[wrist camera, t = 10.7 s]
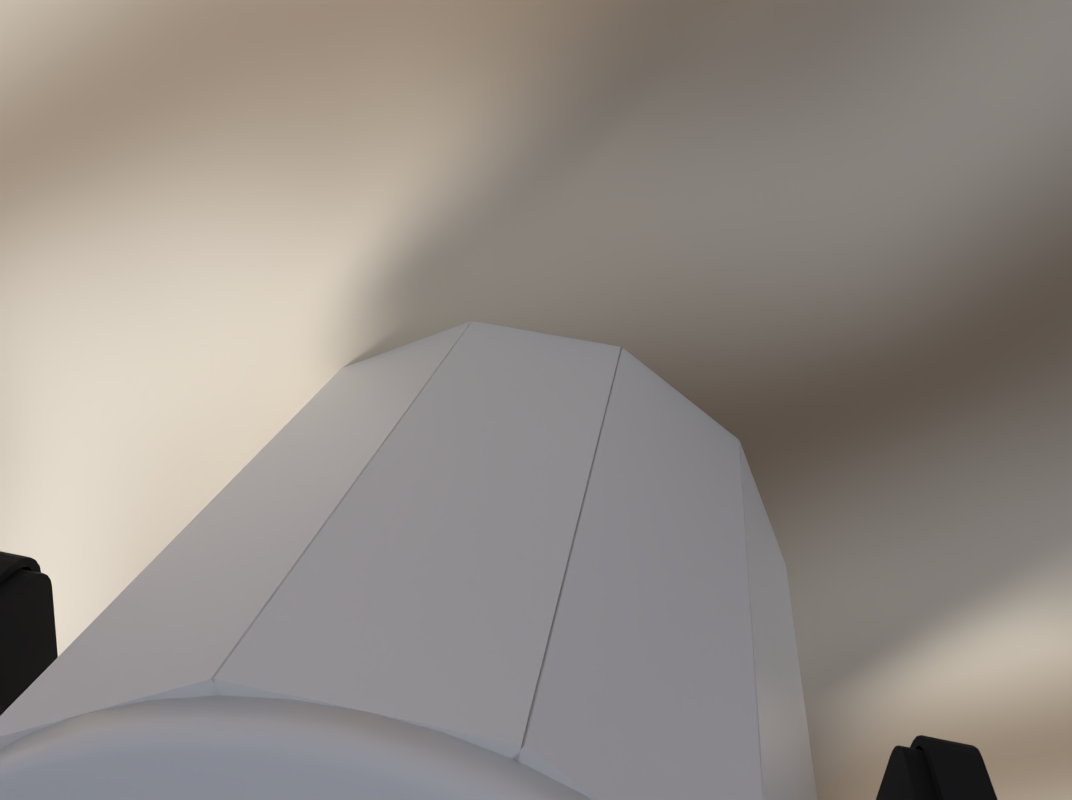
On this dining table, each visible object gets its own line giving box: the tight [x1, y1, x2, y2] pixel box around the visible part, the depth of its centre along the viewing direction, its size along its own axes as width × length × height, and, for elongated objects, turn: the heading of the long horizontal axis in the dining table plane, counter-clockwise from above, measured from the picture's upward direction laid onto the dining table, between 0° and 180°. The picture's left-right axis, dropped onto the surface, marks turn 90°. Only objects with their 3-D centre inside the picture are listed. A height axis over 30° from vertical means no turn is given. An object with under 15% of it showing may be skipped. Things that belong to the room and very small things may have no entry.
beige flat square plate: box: [0, 0, 1072, 800], centre depth 13 cm, size 20×20×7 cm
